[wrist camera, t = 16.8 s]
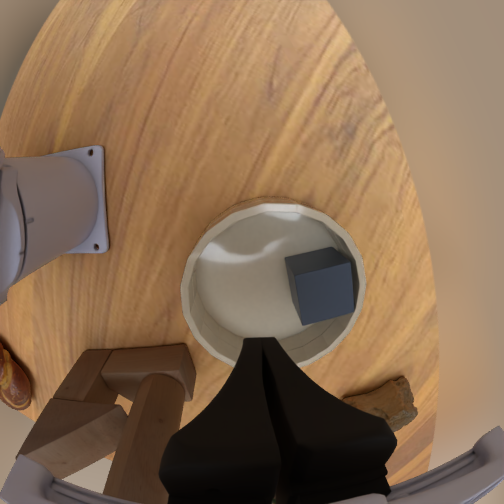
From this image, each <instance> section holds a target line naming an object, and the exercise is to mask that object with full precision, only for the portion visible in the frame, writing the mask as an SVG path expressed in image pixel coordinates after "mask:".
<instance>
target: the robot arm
mask: <svg viewBox="0 0 504 504" xmlns="http://www.w3.org/2000/svg"><path fill="white" fill-rule="evenodd" d="M91 150H93V155H92V156H91V155H90V151H91ZM96 244H98V245H99V249H97V248H96ZM108 249H109V239H108V229H107V218H106V204H105V184H104V149H103V147H102V146H100V145H94V146H88V147H83V148H77V149H72V150H67V151H62V152H57V153H53V154H48V155H44V156H40V157H12V158H5V153H4V151H3V149H1V147H0V305H1V304H3V303H4V302H5V301H7V293H8V290H9V288H10V287H11V286H12V285H14V284H16V283H17V282H19V281H20V280H22V279H23V278H25V277H26V276H28V275H29V274H31V273H33V272H34V271H36V270H37V269H39V268H41V267H42V266H44V265H46V264H47V263H49V262H51V261H52V260H54V259H56V258H57V257H59V256H61V255H62V254H64V253H105V252H107V251H108ZM396 446H397V439H396V437H395V435H394V433H393V431H392V429H391V428H390V426H389V425H388V423H387V422H386V421H385V419H384V418H381V417H378V416H375V415H372V414H370V413H367V412H364V411H362V410H359V409H357V408H355V407H353V406H351V405H349V404H347V403H345V402H343V401H341V400H340V399H338V398H336V397H335V396H333V395H331V394H330V393H328V392H327V391H325V390H324V389H322V388H321V387H320V386H319V385H317V384H316V383H315V382H314V381H313V380H311V379H310V378H309V377H308V376H307V375H306V374H305V373H304V372H303V371H302V370H301V369H300V368H299V367H298V366H297V365H296V363H295V362H294V361H293V360H292V359H291V358H290V357H289V355H288V354H287V353H286V352H285V350H284V349H283V348H282V346H281V345H280V343H279V342H278V340H277V339H276V338H275V337H251V338H245V339H243V345H242V349H241V352H240V355H239V357H238V360H237V362H236V364H235V367H234V369H233V370H232V372H231V374H230V376H229V378H228V379H227V381H226V383H225V384H224V386H223V387H222V389H221V390H220V391H219V393H218V394H217V395H216V396H215V398H214V399H213V400H212V401H211V402H210V404H209V405H208V406H207V407H206V408H205V409H204V410H203V411H202V412H201V413H200V414H199V415H198V416H196V417H195V418H194V419H193V420H192V421H191V422H190V423H188V424H187V425H186V426H184V427H183V428H182V429H180V430H179V431H177V432H176V433H175V434H173V435H172V436H171V438H170V439H169V441H168V443H167V445H166V448H165V450H164V453H163V455H162V458H161V462H160V468H159V473H158V475H159V479H160V481H161V482H162V484H163V486H164V487H165V489H166V491H167V492H168V494H169V496H168V503H167V504H272V501H273V498H274V497H276V504H473V503H475V502H476V501H478V500H479V499H481V498H482V497H483V496H485V495H486V494H487V493H489V492H490V491H491V490H493V489H494V488H495V487H496V486H497V485H498V484H499V483H500V482H501V481H502V480H504V431H503V430H502V428H501V427H500V426H497V427H495V428H494V429H492V430H491V431H489V432H488V433H486V434H485V435H483V436H482V437H481V438H480V439H479V440H478V441H477V442H476V443H475V445H474V446H473V448H472V449H471V450H469V451H467V452H465V453H464V454H462V455H460V456H458V457H456V458H455V459H453V460H451V461H449V462H447V463H445V464H443V465H441V466H439V467H437V468H435V469H433V470H430V471H428V472H426V473H424V474H421V475H419V476H417V477H414V478H412V479H409V480H407V481H404V482H401V483H399V484H396V485H393V486H389V484H388V482H387V479H386V477H385V476H386V475H387V473H388V471H387V469H386V467H385V464H386V462H387V461H388V459H389V458H390V456H391V455H392V453H393V452H394V450H395V448H396ZM0 498H1V499H2V500H3V501H4V502H6V503H7V504H141V503H136V502H131V501H127V500H123V499H119V498H115V497H111V496H108V495H104V494H101V493H97V492H94V491H91V490H88V489H85V488H82V487H79V486H76V485H74V484H71V483H68V482H66V481H64V480H61V479H59V478H56V477H54V476H53V474H52V473H51V472H50V471H49V470H48V469H47V468H46V467H44V466H43V465H42V464H40V463H38V462H36V461H34V460H32V459H30V458H28V457H26V456H24V455H22V454H19V456H18V458H17V460H16V462H15V463H14V466H13V467H12V469H11V471H10V473H9V475H8V477H7V479H6V481H5V483H4V486H3V488H2V490H1V492H0Z"/></svg>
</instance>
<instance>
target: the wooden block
mask: <svg viewBox="0 0 504 504" xmlns="http://www.w3.org/2000/svg"><path fill="white" fill-rule="evenodd" d="M195 379H196V372H195V369H194V366H193V364H192V361H191V358H190V355H189V352H188V349H187V347H186V345H184V344H182V345H172V346H162V347H150V348H136V349H120V350H114V351H112V350H89V351H84V352H83V353H82V354H81V356H80V357H79V359H78V360H77V362H76V363H75V364H74V366H73V367H72V369H71V370H70V372H69V373H68V375H67V376H66V378H65V379H64V380H63V382H62V383H61V385H60V386H59V388H58V390H57V391H56V393H55V394H54V396H53V398H51V399H50V400H49V402H48V403H47V405H46V406H45V408H44V410H43V411H42V413H41V414H40V416H39V418H38V419H37V421H36V423H35V424H34V426H33V428H32V430H31V431H30V433H29V435H28V437H27V438H26V440H25V442H24V443H23V445H22V447H21V449H20V450H19V452H18V454H17V456H16V460H17V458H18V456H19V454H22V455H24V456H26V457H28V458H30V459H32V460H34V461H36V462H38V463H40V464H42V465H43V466H44V467H46V468H47V469H48V470H49V471H50V472H51V473H52V474H53V476H54V477H56V478H59V479H63V478H65V477H67V476H69V475H71V474H73V473H75V472H77V471H79V470H81V469H83V468H85V467H87V466H89V465H91V464H92V463H95V462H96V461H98V460H100V459H102V458H104V457H105V456H107V455H109V454H111V453H113V452H114V451H116V453H115V456H114V459H113V462H112V465H111V468H110V471H109V474H108V478H107V481H106V484H105V488H104V491H103V494H104V495H108V496H111V497H115V498H119V499H123V500H127V501H131V502H136V503H141V504H167V503H168V496H169V494H168V492H167V491H166V489H165V487H164V486H163V484H162V482H161V481H160V479H159V475H158V473H159V468H160V462H161V458H162V455H163V453H164V450H165V448H166V445H167V443H168V441H169V439H170V438H171V436H172V435H173V434H175V433H176V432H177V431H179V428H180V422H181V416H182V411H183V405H184V402H185V401H191V400H192V398H193V392H194V386H195ZM118 394H120V395H122V396H123V397H125V398H127V399H129V400H130V401H132V402H133V404H132V407H131V410H130V412H129V415H128V416H127V414H126V412H125V411H124V409H123V408H122V406H121V405H116V404H114V403H115V401H116V399H117V396H118Z"/></svg>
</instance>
